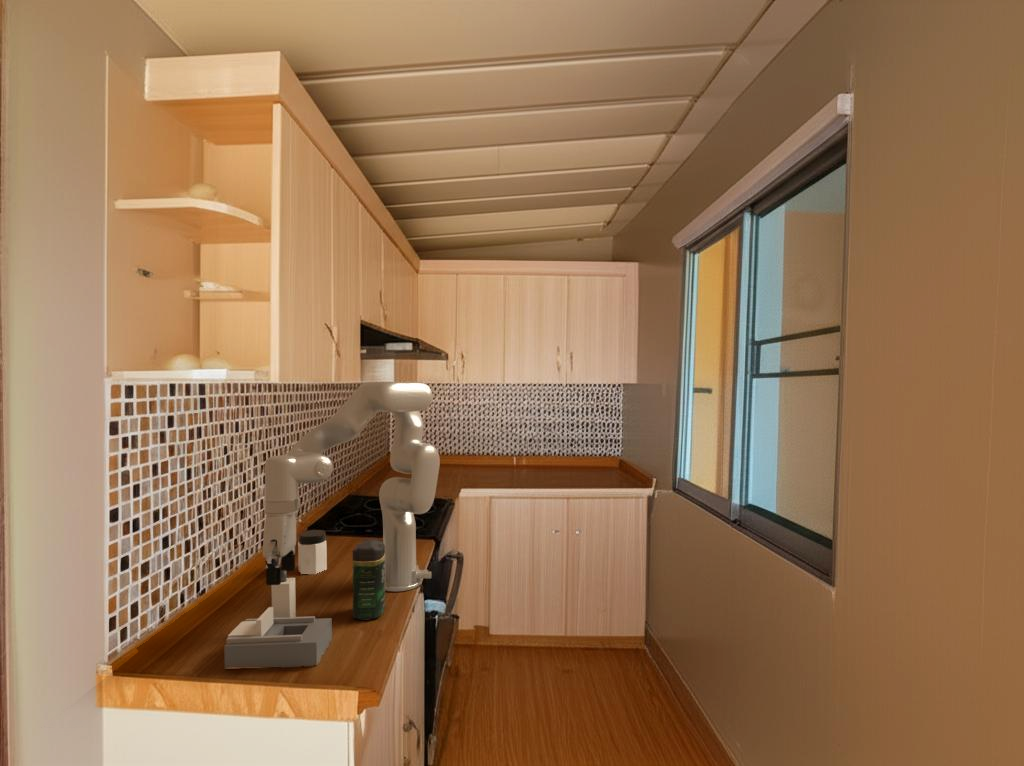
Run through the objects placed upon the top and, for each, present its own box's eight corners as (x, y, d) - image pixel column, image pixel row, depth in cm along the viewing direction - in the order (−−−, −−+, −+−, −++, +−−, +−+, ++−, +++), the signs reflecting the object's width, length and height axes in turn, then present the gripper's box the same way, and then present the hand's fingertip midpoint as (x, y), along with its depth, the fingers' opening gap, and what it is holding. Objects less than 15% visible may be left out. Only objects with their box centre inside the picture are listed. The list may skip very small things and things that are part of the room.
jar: (294, 575, 172) (293, 537, 172) (302, 566, 180) (302, 530, 180) (322, 574, 172) (322, 536, 172) (330, 565, 181) (329, 529, 181)
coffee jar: (381, 620, 138) (380, 547, 138) (349, 622, 138) (348, 548, 138) (388, 605, 148) (387, 536, 148) (358, 606, 148) (357, 537, 147)
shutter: (273, 623, 125) (273, 607, 125) (261, 637, 118) (261, 620, 118) (242, 624, 125) (241, 608, 125) (227, 639, 118) (227, 621, 118)
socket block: (331, 639, 129) (331, 613, 129) (316, 665, 117) (316, 637, 117) (248, 642, 127) (248, 617, 127) (224, 669, 115) (224, 641, 115)
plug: (295, 626, 136) (295, 568, 136) (290, 633, 132) (289, 573, 132) (278, 626, 136) (277, 568, 136) (272, 634, 132) (271, 574, 131)
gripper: (278, 500, 142) (278, 566, 142) (251, 514, 125) (250, 590, 124) (308, 499, 142) (308, 566, 142) (284, 514, 125) (284, 590, 125)
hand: (281, 577), depth 133 cm, fingers open, 9 cm apart
